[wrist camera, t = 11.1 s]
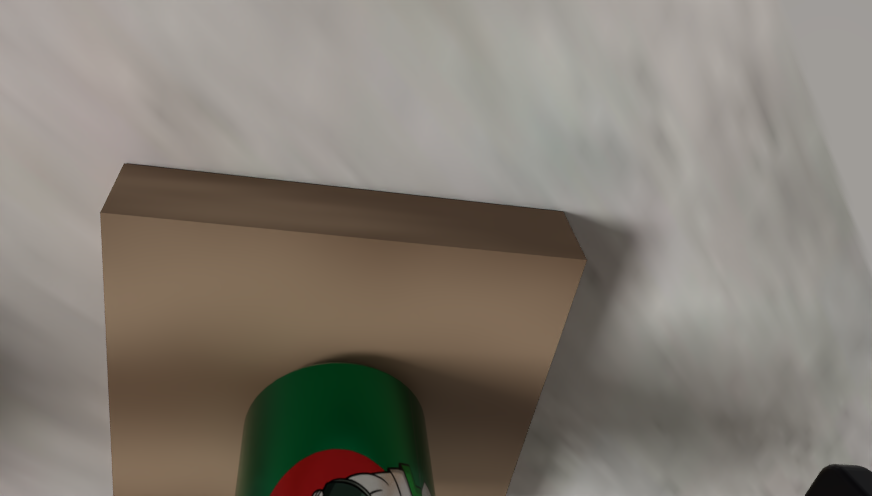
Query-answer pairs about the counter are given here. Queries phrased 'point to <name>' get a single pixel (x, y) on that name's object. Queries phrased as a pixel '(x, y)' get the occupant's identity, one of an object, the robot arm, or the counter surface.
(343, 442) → the soda can
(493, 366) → the walnut base
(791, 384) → the counter surface
